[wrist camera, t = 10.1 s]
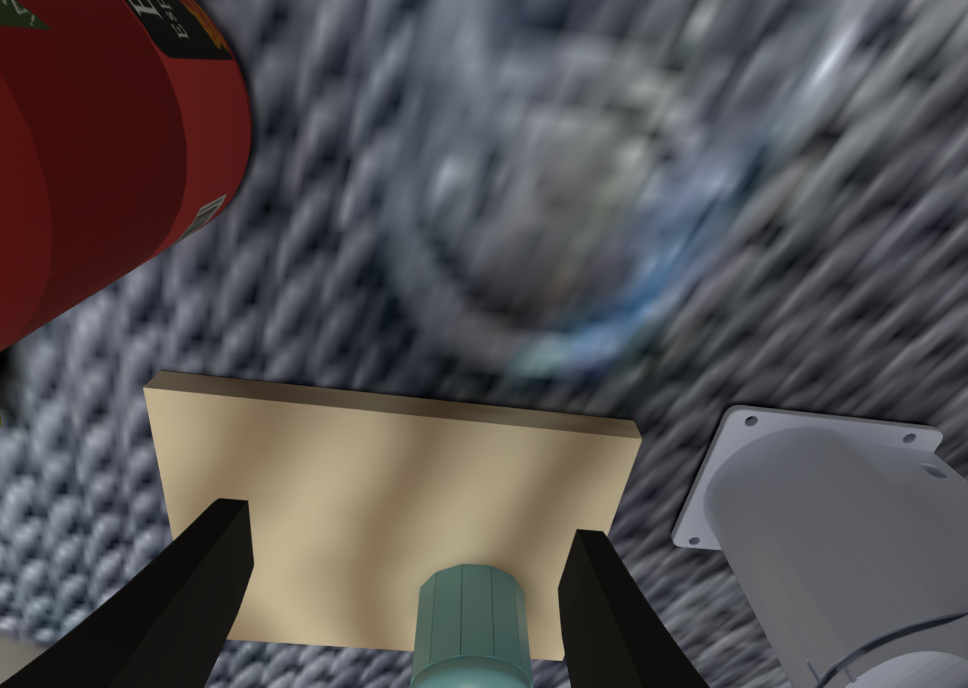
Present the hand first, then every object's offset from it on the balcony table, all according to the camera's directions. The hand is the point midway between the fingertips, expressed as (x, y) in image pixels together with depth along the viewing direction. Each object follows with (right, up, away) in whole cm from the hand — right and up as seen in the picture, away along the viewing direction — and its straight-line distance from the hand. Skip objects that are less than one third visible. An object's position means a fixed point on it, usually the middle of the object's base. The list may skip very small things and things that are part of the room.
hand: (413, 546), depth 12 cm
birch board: (-3, -4, +13) cm, 14 cm away
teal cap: (+1, -8, +14) cm, 16 cm away
